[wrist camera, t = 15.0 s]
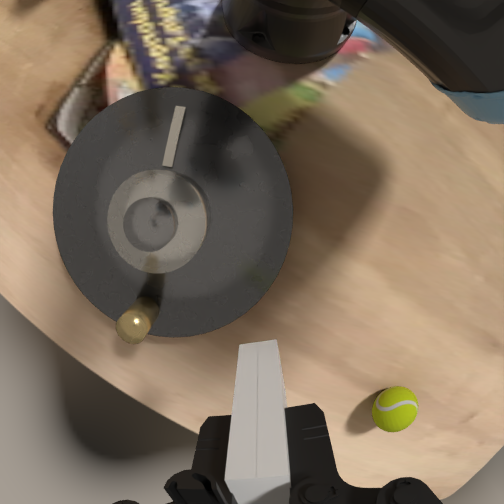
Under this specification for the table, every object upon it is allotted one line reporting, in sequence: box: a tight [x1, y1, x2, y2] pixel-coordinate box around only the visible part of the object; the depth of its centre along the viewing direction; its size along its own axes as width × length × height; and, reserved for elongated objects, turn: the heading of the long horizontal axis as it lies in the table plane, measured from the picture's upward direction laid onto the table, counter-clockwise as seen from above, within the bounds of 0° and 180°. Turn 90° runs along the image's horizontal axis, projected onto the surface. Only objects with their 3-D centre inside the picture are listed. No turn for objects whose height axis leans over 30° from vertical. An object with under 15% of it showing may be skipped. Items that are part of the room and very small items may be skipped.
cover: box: [107, 170, 211, 273], centre depth 27 cm, size 9×9×6 cm
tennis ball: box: [372, 386, 418, 432], centre depth 36 cm, size 7×7×7 cm
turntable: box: [53, 87, 293, 344], centre depth 28 cm, size 26×26×7 cm
